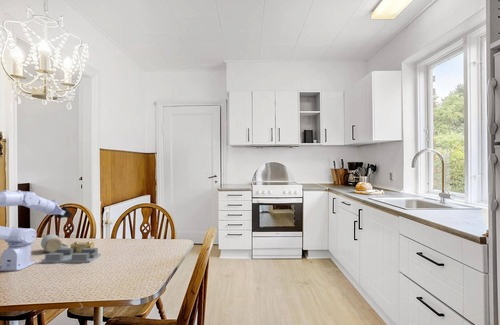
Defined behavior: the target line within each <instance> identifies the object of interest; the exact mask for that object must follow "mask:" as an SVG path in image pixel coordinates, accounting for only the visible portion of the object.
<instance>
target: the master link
mask: <svg viewBox="0 0 500 325" xmlns="http://www.w3.org/2000/svg"><path fill="white" fill-rule="evenodd" d="M70 248H73V253H81V252H82V249H84V248H95V242H93V241H87V242H85V241H84V242H79V241H74V242H73V243H71V244H70Z"/></svg>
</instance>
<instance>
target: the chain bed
mask: <svg viewBox="0 0 500 325" xmlns="http://www.w3.org/2000/svg"><path fill="white" fill-rule="evenodd" d="M98 249H99V248H98V247H94V248H84V249H82V252H81V253H73V248H71V247H68V248H59V249H57V251H56V252H52V253H50V252H47V253H46V254H45V256H44V259H42V260H41V264H43V263H44V264H64V263H65V264H68V263H69V264H81V263H82V264H83V263H84V264H86V263H87V264H89V263H91V262H93V261H94V260H96V259H98V258H99V257H101V255H102V253H100V252H99V250H98Z"/></svg>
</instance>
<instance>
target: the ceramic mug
mask: <svg viewBox="0 0 500 325" xmlns="http://www.w3.org/2000/svg"><path fill="white" fill-rule="evenodd" d="M40 245H41V248H43V250H44V251H45V252H46V253H52V252H56V253H57V249H59V248H69V245H67V244H65V243H63V242H62V240H61V238H60V237H59V235H56V234H54V233H52V234H51V233H50V234H47V235H45V236H44V237H42V240H41V242H40Z"/></svg>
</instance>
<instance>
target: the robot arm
mask: <svg viewBox="0 0 500 325" xmlns="http://www.w3.org/2000/svg"><path fill="white" fill-rule="evenodd" d="M57 202H58V200H56V199H52V201H51V200H50V199H46V198H44V197H41V196H39V195H37V194H36V193H35V192H34V191H25V190H24V191H23V190H19V189H18V190H16V191H10V190H9V189H3V190H2V191H0V208H1V207H15V206H23V207H26V208H28V209H31V210H35V211H37V212H40V213H43V214H45V215H48V216H49V215H51V216H52V215H55V218H56V219H63V218H72V217H71V216H72V214H73V213H72V212H71V211H70V210H68V208H67V207H66V206H64V205H63V206H62V207H60V206H59V205H58V203H57ZM36 239H37V230H36V229H34V228H31V227H30V228H23V227H14V226H13V227H7V226H2V225H0V240H3V241H4V242H6V243H7V246H8V247H7V248H6V249H4V250H3V251H2V253H1V259H0V271H1V272H3V271H8V272H9V271H11V272H12V271H13V272H15V271H16V272H17V271H21V270H23V269H26V268H28V267H30V266H32V265H34V264H37V261H31V260H32V244H34V241H35V240H36Z"/></svg>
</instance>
